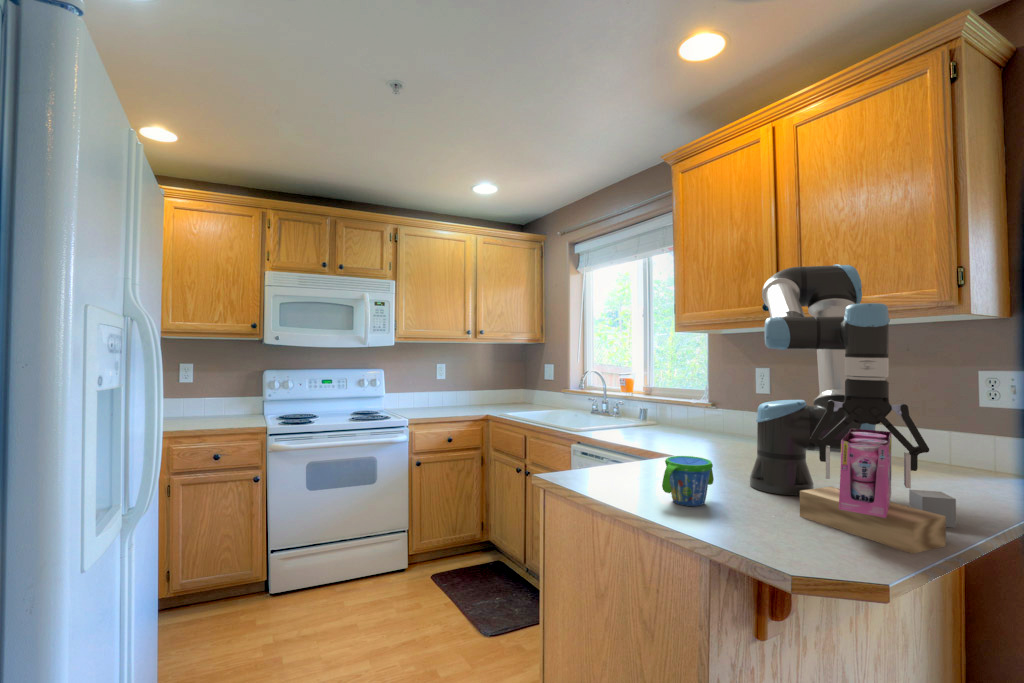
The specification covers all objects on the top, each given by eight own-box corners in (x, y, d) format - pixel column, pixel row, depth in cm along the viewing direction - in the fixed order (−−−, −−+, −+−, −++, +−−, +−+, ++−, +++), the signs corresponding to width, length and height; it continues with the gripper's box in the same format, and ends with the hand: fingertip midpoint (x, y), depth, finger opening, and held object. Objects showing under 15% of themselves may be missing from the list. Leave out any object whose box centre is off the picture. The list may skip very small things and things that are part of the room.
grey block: (922, 525, 112) (922, 496, 112) (909, 516, 118) (909, 489, 118) (955, 527, 111) (955, 499, 111) (941, 519, 116) (941, 491, 116)
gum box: (887, 520, 97) (888, 446, 97) (837, 512, 102) (838, 441, 102) (891, 493, 116) (892, 431, 116) (849, 487, 121) (849, 427, 121)
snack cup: (679, 513, 119) (679, 467, 119) (647, 500, 128) (648, 458, 128) (729, 504, 125) (729, 461, 126) (696, 493, 135) (696, 453, 135)
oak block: (912, 555, 96) (912, 522, 96) (799, 517, 117) (799, 490, 117) (945, 548, 100) (945, 516, 100) (830, 512, 121) (830, 486, 121)
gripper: (796, 377, 112) (796, 477, 112) (947, 381, 99) (947, 495, 99) (798, 375, 119) (798, 470, 118) (940, 380, 106) (940, 486, 106)
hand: (866, 482), depth 109 cm, fingers open, 13 cm apart
